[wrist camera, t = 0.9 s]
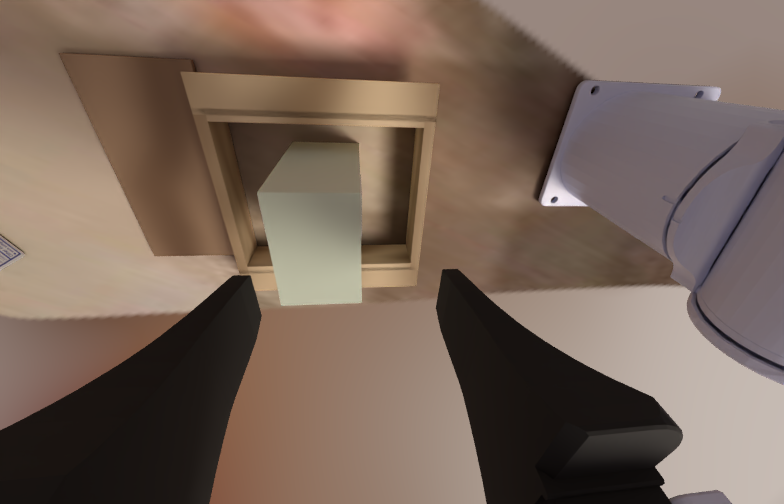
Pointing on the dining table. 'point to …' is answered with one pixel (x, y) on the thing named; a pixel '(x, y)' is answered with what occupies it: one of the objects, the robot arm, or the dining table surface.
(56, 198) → the dining table surface
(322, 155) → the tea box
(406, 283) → the tan square frame
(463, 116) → the dining table surface
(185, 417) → the robot arm
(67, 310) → the dining table surface
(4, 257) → the medicine box
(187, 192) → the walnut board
